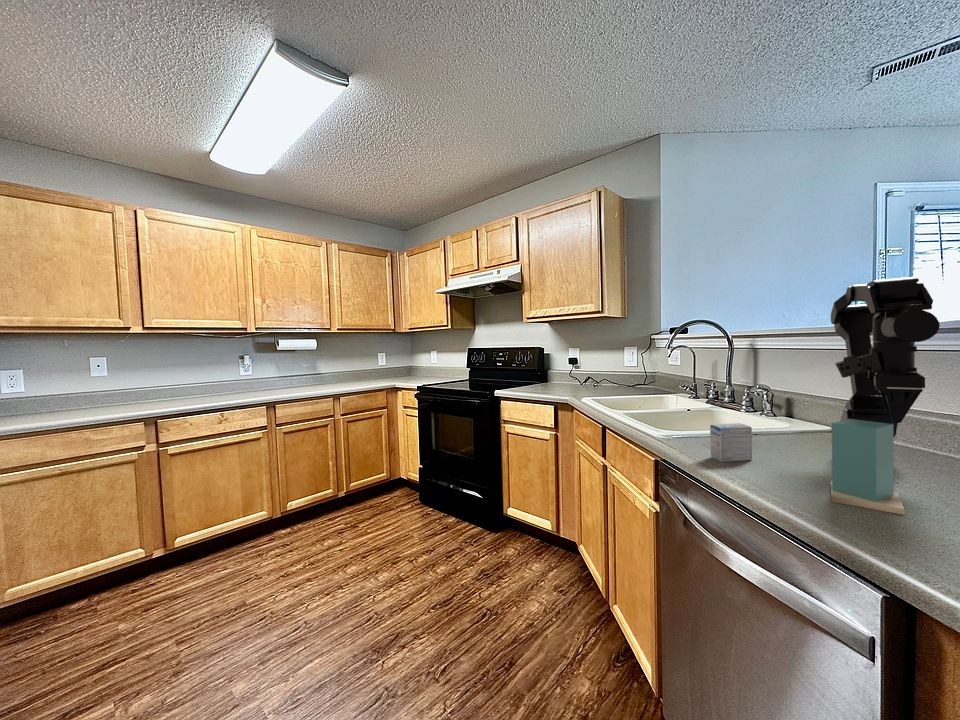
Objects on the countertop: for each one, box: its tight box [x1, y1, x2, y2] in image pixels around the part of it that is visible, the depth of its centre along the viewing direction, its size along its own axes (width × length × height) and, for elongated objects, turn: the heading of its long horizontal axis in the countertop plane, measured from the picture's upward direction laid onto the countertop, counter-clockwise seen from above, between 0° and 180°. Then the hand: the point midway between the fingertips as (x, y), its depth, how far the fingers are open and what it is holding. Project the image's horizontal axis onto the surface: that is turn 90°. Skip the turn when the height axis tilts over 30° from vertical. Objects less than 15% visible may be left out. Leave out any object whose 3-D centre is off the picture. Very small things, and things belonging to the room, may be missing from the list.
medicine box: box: [709, 422, 753, 463], centre depth 96 cm, size 8×4×9 cm, turn 92°
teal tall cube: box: [831, 419, 895, 502], centre depth 71 cm, size 6×6×13 cm
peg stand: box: [830, 480, 905, 516], centre depth 70 cm, size 10×9×4 cm
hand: (893, 418), depth 77 cm, fingers open, 9 cm apart
